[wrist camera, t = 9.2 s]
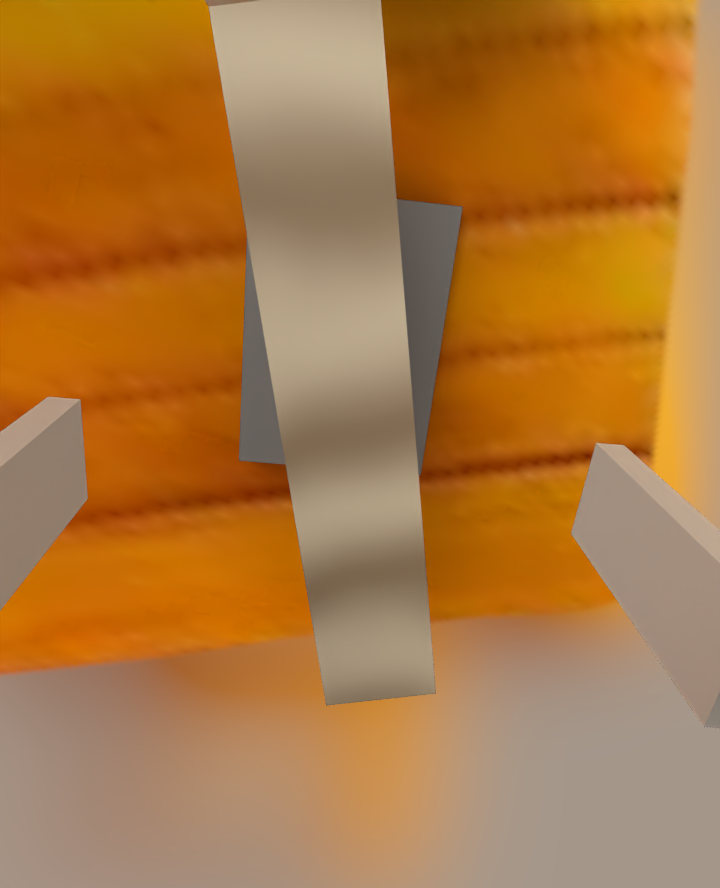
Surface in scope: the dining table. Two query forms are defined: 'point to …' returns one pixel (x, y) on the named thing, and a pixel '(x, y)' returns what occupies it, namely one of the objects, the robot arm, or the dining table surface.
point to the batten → (334, 324)
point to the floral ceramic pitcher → (225, 2)
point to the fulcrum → (426, 296)
